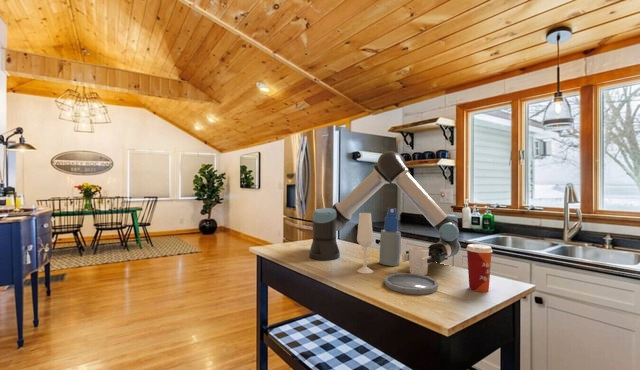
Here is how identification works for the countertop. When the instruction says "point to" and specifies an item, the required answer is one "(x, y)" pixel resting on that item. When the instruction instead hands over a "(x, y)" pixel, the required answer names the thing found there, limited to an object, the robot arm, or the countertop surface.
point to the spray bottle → (390, 240)
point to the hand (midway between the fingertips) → (412, 260)
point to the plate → (411, 283)
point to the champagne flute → (365, 237)
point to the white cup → (418, 260)
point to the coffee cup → (479, 266)
